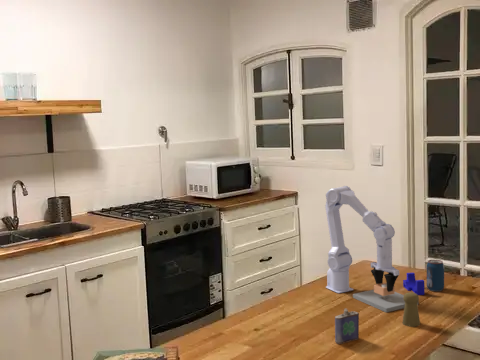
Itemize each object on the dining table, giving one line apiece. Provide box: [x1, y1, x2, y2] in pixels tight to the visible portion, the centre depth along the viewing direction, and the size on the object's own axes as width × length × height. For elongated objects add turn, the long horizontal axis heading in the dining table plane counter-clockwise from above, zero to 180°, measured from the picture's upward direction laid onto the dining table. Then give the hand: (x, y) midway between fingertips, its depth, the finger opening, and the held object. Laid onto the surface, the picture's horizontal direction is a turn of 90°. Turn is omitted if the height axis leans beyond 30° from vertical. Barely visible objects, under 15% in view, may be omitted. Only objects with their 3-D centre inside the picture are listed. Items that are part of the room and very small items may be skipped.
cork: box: [402, 291, 421, 328], centre depth 196 cm, size 6×6×11 cm
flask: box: [334, 308, 360, 345], centre depth 184 cm, size 9×3×11 cm, turn 117°
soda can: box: [426, 259, 445, 292], centre depth 231 cm, size 7×7×12 cm
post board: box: [352, 284, 419, 313], centre depth 220 cm, size 20×16×6 cm
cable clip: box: [402, 272, 425, 296], centre depth 232 cm, size 12×4×6 cm, turn 3°
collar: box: [373, 282, 396, 296], centre depth 220 cm, size 6×6×3 cm
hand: (384, 289), depth 220 cm, fingers closed on collar, 6 cm apart
